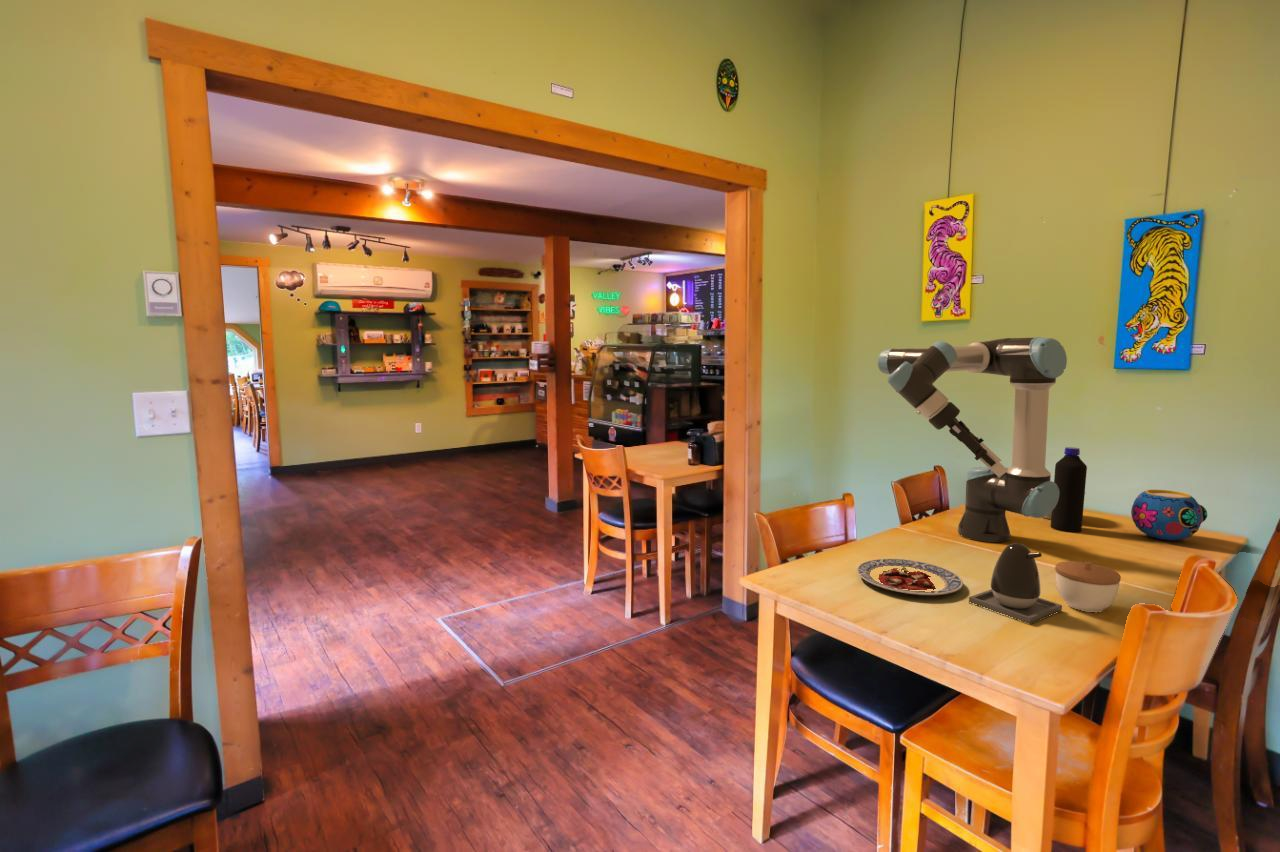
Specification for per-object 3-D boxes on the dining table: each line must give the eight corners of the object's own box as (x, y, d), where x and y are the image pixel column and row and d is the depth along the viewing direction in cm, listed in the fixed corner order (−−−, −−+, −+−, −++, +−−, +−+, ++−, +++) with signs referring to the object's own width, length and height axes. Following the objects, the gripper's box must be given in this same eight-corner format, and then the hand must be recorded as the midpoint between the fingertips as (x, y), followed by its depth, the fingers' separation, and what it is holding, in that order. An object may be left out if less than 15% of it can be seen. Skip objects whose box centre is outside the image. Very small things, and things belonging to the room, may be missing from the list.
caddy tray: (968, 602, 151) (969, 597, 150) (1001, 591, 158) (1001, 585, 158) (1029, 624, 139) (1029, 618, 138) (1061, 611, 146) (1062, 604, 146)
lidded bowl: (1130, 614, 144) (1135, 568, 143) (1090, 620, 140) (1094, 574, 139) (1078, 593, 156) (1082, 551, 155) (1040, 599, 152) (1043, 556, 151)
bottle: (1054, 530, 210) (1060, 449, 206) (1047, 524, 218) (1053, 445, 214) (1085, 533, 206) (1092, 450, 203) (1077, 526, 215) (1083, 446, 211)
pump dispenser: (1023, 617, 141) (1028, 553, 139) (980, 601, 150) (984, 540, 148) (1049, 608, 146) (1054, 546, 144) (1005, 593, 155) (1010, 534, 153)
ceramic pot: (1187, 550, 189) (1192, 502, 187) (1118, 535, 204) (1123, 491, 202) (1209, 541, 198) (1214, 495, 196) (1142, 527, 213) (1147, 485, 211)
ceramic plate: (969, 608, 148) (970, 596, 148) (856, 594, 157) (856, 583, 156) (955, 572, 172) (955, 561, 172) (857, 561, 181) (857, 552, 180)
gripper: (926, 414, 178) (983, 468, 174) (927, 426, 156) (993, 488, 152) (947, 396, 175) (1006, 450, 171) (952, 405, 153) (1019, 468, 149)
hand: (1000, 468), depth 161 cm, fingers open, 13 cm apart
